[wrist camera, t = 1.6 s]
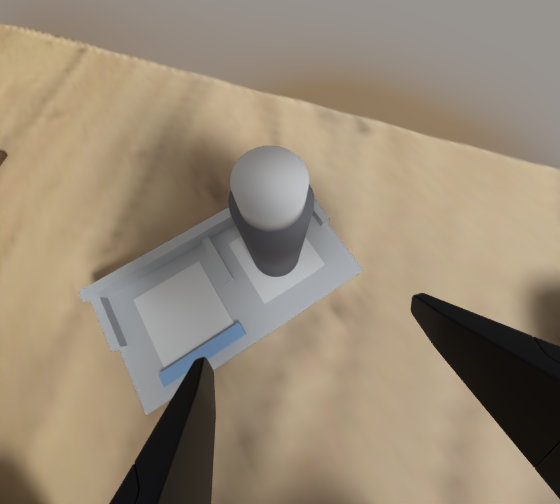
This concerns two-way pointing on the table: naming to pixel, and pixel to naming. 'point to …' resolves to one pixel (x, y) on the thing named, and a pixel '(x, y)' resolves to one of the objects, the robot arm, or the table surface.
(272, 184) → the grey upright cylinder
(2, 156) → the figurine
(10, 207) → the table surface
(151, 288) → the white tray
